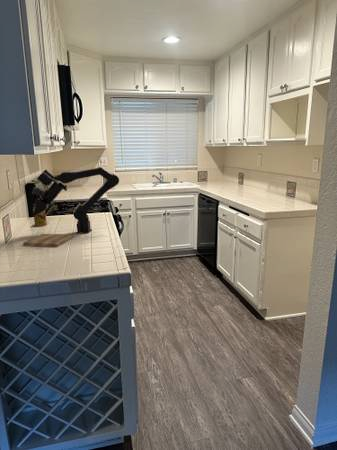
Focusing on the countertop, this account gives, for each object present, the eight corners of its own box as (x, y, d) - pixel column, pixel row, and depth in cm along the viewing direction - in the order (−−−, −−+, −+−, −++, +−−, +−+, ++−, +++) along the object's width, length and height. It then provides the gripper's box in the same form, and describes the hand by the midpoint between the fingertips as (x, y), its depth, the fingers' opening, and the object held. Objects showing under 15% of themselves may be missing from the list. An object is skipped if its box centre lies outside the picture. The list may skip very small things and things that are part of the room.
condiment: (46, 226, 164) (43, 204, 161) (29, 228, 163) (26, 205, 160) (48, 223, 171) (45, 202, 168) (32, 225, 169) (29, 203, 167)
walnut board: (73, 237, 163) (73, 234, 162) (57, 246, 147) (56, 243, 147) (42, 236, 166) (42, 233, 166) (23, 245, 151) (23, 242, 151)
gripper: (44, 179, 170) (26, 201, 172) (35, 183, 153) (16, 207, 154) (61, 192, 174) (43, 213, 175) (54, 198, 156) (35, 221, 157)
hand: (34, 213), depth 165 cm, fingers closed on condiment, 6 cm apart
